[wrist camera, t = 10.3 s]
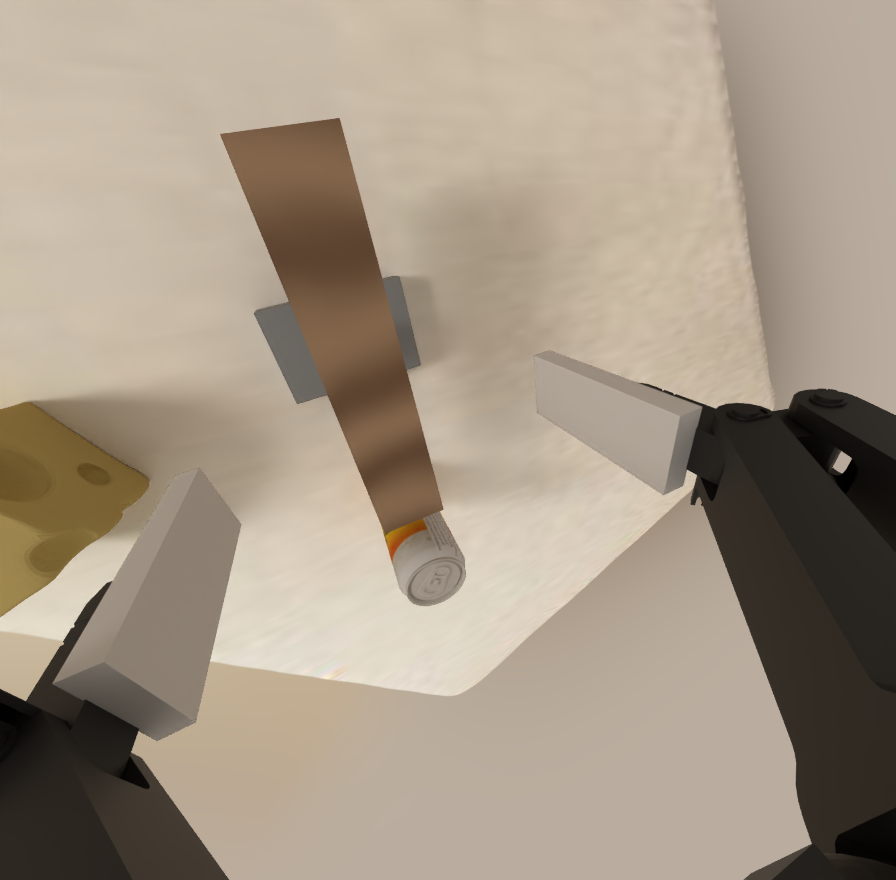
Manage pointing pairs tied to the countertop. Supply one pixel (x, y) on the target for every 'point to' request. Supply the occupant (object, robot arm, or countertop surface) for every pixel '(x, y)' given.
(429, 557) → the beer can
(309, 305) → the walnut bar
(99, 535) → the cheese
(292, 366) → the fulcrum
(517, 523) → the countertop surface
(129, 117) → the countertop surface
